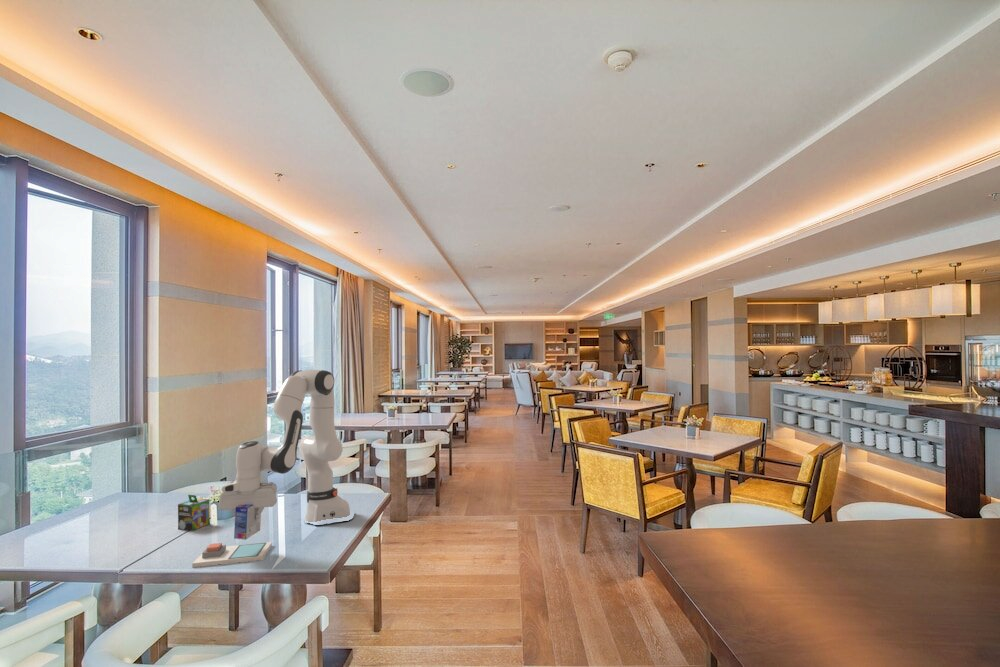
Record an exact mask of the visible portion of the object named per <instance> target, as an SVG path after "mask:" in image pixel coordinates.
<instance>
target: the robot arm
mask: <svg viewBox="0 0 1000 667" xmlns="http://www.w3.org/2000/svg"><path fill="white" fill-rule="evenodd" d="M334 387H335V377H334V374H332V372H330V371H328V370H324V369H322V370H321V369H320V370H319V369H307V370H301V369H300V370H296V371H294V372H291V374H290V376H288V377H287V378H285V380H284V382H283V383H282V385H281V386H280V389H279V391H278V393H277V395H276V397H275V400H274V401H273V402H274V403H273V407H272V408H273V413H274V414H275V416H276V417H277V418H278V419H280V420H282V421H283V422H284V423H285V425H286V430H285V433H284V437H283V441H282V444H281V446H279V447H277V446H276V447H275V446H268V445H264V444H261V443H260V442H259V441H258V440H251V441H246V442H244V443H241V444H240V445H239V446H238V447H237V451H236V455H235V457H236V458H235V468H236V475H235V480H232V481H230V482H227V483H225V484H224V485H223V486H222V487H221V492H222V493H221V494H220V496H219V500H218V501H219V502H218V509H219V510H220V511H231V513H232V515H233V516H234V517H235V511H236V507H237V506H239V505H245V504H246V505H254V506H253V508H259V510H261V511H260V512H259V513H258V514H256V519H260V518H261V519H262V513H263V511H264V510H265V508H272V507H274V506H275V505H276V504H277V501H278V500H277V492H278V486H277V484H276V483H275V482H262V473H261V472H263V471H265V472H273V473H276V474H281V475H282V474H283V475H284V474H286V473H289V472H290V471H291V470H292V469H293V468H294V466H295V465H296V462H297V452H298V450H299V452H300V454H301V456H302V457H303V459H304V463H305V468H306V471H307V472H306V473H307V491H306V503H307V507H306V513H305V518H304V521H305V520H306V521H308V522H317V521H321V520H326V519H333V518H342V517H347V516H349V515H350V510H351V507H350V504H349V501H347V500H346V499H344V498H343V497H341V496H340V495H338V487H336V488H335V487H334V486H333V485H334V473H333V472H334V471H333V468H331V466H330V464H329V462H334V461H337V460H338V459H339V458H340V457H341V456H342V453H343V444H342V443H341V442H340V440H339V438H338V435H337V431H336V426H335V394H334V389H333V388H334ZM309 394H310V402H309V403H310V404H309V420H308V422H309V427H310V428H311V429H312V432H313V435H308V436H305V437H303V438H302V439H301V440H300V436H301V432H302V426H303V423H304V415H303V414H302V406H303V404H304V400H305V397H306V395H309ZM299 441H300V442H299ZM298 444H299V445H298Z"/></svg>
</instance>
